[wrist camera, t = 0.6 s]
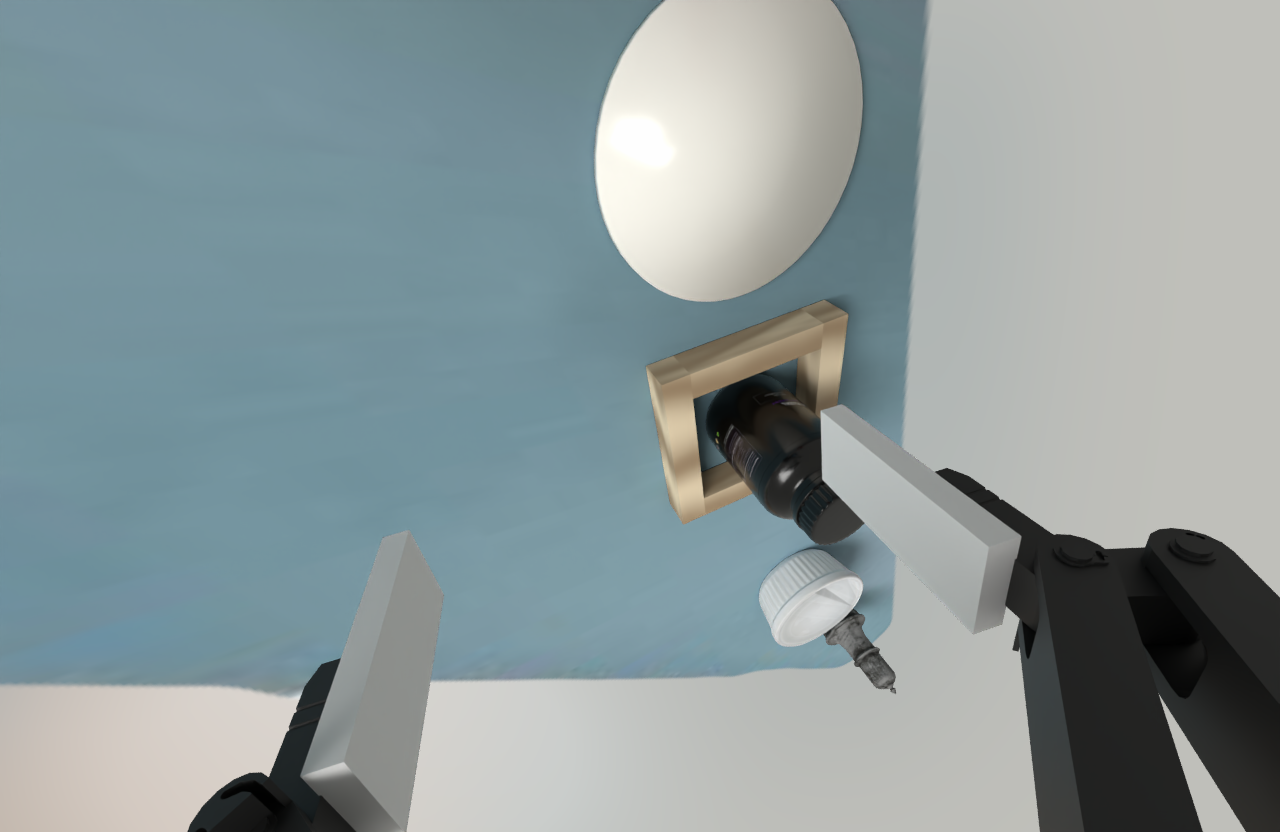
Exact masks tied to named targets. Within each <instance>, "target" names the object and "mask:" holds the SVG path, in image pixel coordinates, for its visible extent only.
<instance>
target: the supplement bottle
mask: <svg viewBox="0 0 1280 832" xmlns="http://www.w3.org/2000/svg"><path fill="white" fill-rule="evenodd" d="M706 430H707V434H708V436H709V438H710V440H711V441H712V443H713V444H714V445H715V447H716V448H717V449H718V450H719V452H720V453H721V454H722V455H723V457H724V458H725V459H726V460H727V462H728V463H729V464H730V465H731V467H732V468H733V469H734V470H735V472H736V473H737V474H738V475H739V477H740V478H741V479H742V480H743V482H744V483H745V484H746V485H747V487H748V488H749V489H750V490H751V492H752V493H753V494H754V495H755V497H756V498H757V499H758V500H759V502H760V503H761V504H762V505H763V506H764V508H765V509H766V510H767V511H768V512H770V513H771V514H773V515H775V516H777V517H780V518H783V519H794V521H795V523H796V524H797V525H798V526H799V528H801V529H802V530H804V532H805V533H806V534H807V535H808V536H809V538H810V539H811V540H813V541H814V542H815V543H818V544H819V545H822V544H823V545H827V544H829V545H830V544H833V543H837V542H838V541H841V540H843V539H845V538H847V537H848V536H850V535H851V534H853V533H854V532H855V531H856V530H858V529H859V528H860V527H861V526H862V525H863V524H864V522H863V521H862V520H861V519H860V518H859V517H858V516H857V515H856V514H855V513H854V512H853V510H852V509H851V508H850V507H849V506H848V505H847V504H846V503H845V502H844V501H843V500H842V499H841V498H840V497H839V496H838V495H837V494H836V493H835V492H834V491H833V490H832V489H831V488H830V487H829V486H828V485H827V484H826V483H825V482H824V481H823V480H822V448H821V418H819V417H818V416H817V415H816V414H815V413H814V412H813V411H811V410H810V409H809V408H808V407H807V406H806V405H805V404H803V403H802V402H801V401H800V400H799V399H798V398H797V397H796V396H794V395H793V394H792V393H791V392H790V391H789V390H788V389H786V388H785V387H784V386H783V385H782V384H780V383H779V382H778V381H777V380H775V379H774V378H772V377H770V376H767V375H762V374H755V375H753V376H750V377H748V378H745V379H743V380H740V381H738V382H735V383H733V384H730V385H727V386H726V387H725V388H724V389H723V390H722V391H721V392H720V393H719V394H718V395H717V396H716V397H715V399H714V400H713V402H712V404H711V405H710V408H709V410H708V413H707V417H706Z"/></svg>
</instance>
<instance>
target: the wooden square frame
mask: <svg viewBox="0 0 1280 832" xmlns="http://www.w3.org/2000/svg"><path fill="white" fill-rule="evenodd" d="M847 322H848V313H846V312H844V311H843V310H841V309H839V308H838V307H836V306H834V305H832V304H831V303H829V302H827V301H826V300H822V301H820V302H817V303H814V304H812V305H809V306H806V307H803V308H801V309H798V310H795V311H793V312H790V313H787V314H785V315H782V316H779V317H777V318H774V319H771V320H768V321H766V322H763V323H760V324H758V325H755V326H752V327H750V328H747V329H744V330H742V331H739V332H736V333H733V334H731V335H728V336H725V337H723V338H720V339H717V340H715V341H712V342H709V343H707V344H704V345H701V346H698V347H696V348H693V349H690V350H688V351H685V352H682V353H680V354H677V355H674V356H672V357H669V358H666V359H663V360H661V361H658V362H655V363H653V364H650V365H647V366H646V370H647V376H648V381H649V387H650V393H651V398H652V404H653V410H654V415H655V421H656V427H657V432H658V438H659V444H660V449H661V455H662V461H663V466H664V472H665V478H666V483H667V489H668V495H669V500H670V504H671V506H672V507H673V509H674V510H675V512H676V513H677V515H678V517H679V518H680V520H681V521H682V523H683V524H686V523H688V522H690V521H692V520H695V519H697V518H699V517H701V516H703V515H706V514H708V513H710V512H712V511H715V510H717V509H719V508H721V507H724V506H726V505H728V504H730V503H732V502H735V501H737V500H739V499H741V498H744V497H746V496H748V495H750V494H753V493H752V492H751V490H750V489H749V488H748V487H747V485H746V484H745V483H744V482H743V480H742V479H741V478H740V477H739V475H738V474H737V473H736V472H735V470H734V469H733V468H732V467H731V465H730V464H729V463H728V462H725V463H723V464H720V465H718V466H716V467H713V468H711V469H709V470H706V471H704V472H702V473H701V468H700V458H699V449H698V440H697V431H696V422H695V413H694V404H693V399H694V398H697V397H700V396H702V395H705V394H707V393H710V392H712V391H715V390H717V389H720V388H722V387H725V386H727V385H730V384H733V383H735V382H738V381H740V380H743V379H745V378H748V377H750V376H753V375H755V374H758V373H760V372H763V371H766V370H768V369H771V368H773V367H776V366H778V365H781V364H783V363H786V362H788V361H791V360H793V359H796V358H798V364H797V382H796V397H797V398H798V399H799V400H800V401H801V402H802V403H803V404H805V405H806V406H807V407H808V408H809V409H810V410H811V411H813V412H814V413H815V414H816V415H817V416H818V417H819V418H821V410H824V409H828V408H831V407H834V406H837V401H838V393H839V385H840V377H841V369H842V361H843V353H844V346H845V338H846V330H847Z"/></svg>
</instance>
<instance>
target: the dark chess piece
mask: <svg viewBox="0 0 1280 832" xmlns="http://www.w3.org/2000/svg"><path fill="white" fill-rule="evenodd" d="M864 621H865V617H864V615H862V614H859V613H858V612H857V611H856V610H854V609H852V610H851V611H850V612H849V613H848V615H847V616H845V617H844V618H843V619H842V620H841V621H840V622H839V623H838V624H837V625H835V626H834V627H833V628H831V629H830V630H829V631H827V632H826V633H824V636H825V637H826V643H827V644H828V645H836V644H840V645H841V646H842V647H843V648H844V649H846V651H847V652H848V653H849V654H850V656H851V657H852V658H853V660H854V661H855V663H854V665H855V666H856V667H860V668H861V669H862V670H863V672H864V673H865V674H866V676H867V677H868V678H869V680H870V681H871V682H872V683H873V685H874V686H875V687H876V688H878V689H890V690H891V692H893V693H896V690H895V688H893V683H894V682H895V678H896V677H895V673H894V671H893V670H892V669H891V668H890V667H889V665H888V664H887V663H886V662H885V660H884V659H883V658H882V657H881V656H880V654H879V650H880V649H879V648H877V647H874V646H873V645H872V643H871V642H870V641H869V640H868V638H867V637H866V636H865V634H864V632H863V630H862V625H863V624H864Z"/></svg>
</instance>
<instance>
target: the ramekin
mask: <svg viewBox="0 0 1280 832" xmlns="http://www.w3.org/2000/svg"><path fill="white" fill-rule="evenodd" d="M862 591H863V582H862V580H861V578H860V577H859V576H858V575H857V574H856V573H855V572H853V571H850V570H848V569H847V568H846V567H845V566H843V565H842V564H841V563H840V562H839V561H837V560H836V559H835V558H833V557H832V556H831V555H830V554H828V553H827V552H825V551H822V550H817V549H808V550H803V551H800V552H797V553H795V554H793V555H791V556H789V557H788V558H786V559H785V560H783V561H782V562H781V563H779V564H778V565H777V566H776V567H775V568H774V569H773V570H772V571H771V572H770V573H769V574H768V575H767V576H766V578H765V579H764V581H763V583H762V585H761V587H760V591H759V602H760V605H761V608H762V610H763V612H764V614H765V616H766V618H767V621H768V623H769V625H770V627H771V631H772V635H773V637H774V639H775V640H776V642H777V643H778V644H780V645H782V646H788V647H790V646H799V645H802V644H805V643H807V642H809V641H811V640H814V639H816V638H817V637H819V636H821V635H823V634H824V633H826V632H827V631H829V630H830V629H831V628H833V627H834V626H835V625H837V624H838V623H839V622H840V621H841V620H842V619H843V618H844V617H845V616H847V615H848V613H849V612H850V611H851V610H852V609H853V607H854V606H855V605H856V603H857V602H858V600H859V598H860V596H861V594H862Z"/></svg>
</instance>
